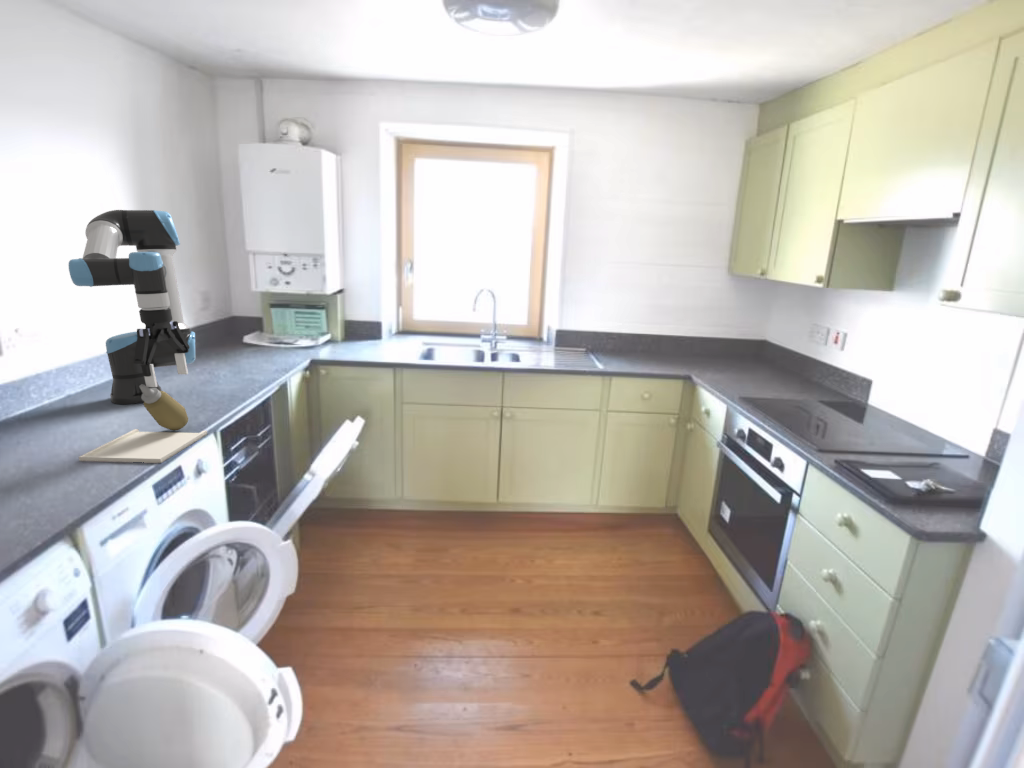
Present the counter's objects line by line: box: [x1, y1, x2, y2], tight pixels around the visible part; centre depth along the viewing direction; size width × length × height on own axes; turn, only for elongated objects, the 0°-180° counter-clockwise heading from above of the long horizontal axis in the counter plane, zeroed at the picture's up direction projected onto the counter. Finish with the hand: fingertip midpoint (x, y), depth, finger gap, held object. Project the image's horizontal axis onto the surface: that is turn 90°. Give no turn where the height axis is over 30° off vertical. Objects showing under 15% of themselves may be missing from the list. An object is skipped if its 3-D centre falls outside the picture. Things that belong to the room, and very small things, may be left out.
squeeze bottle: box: [139, 384, 189, 431], centre depth 152 cm, size 8×8×18 cm
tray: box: [78, 428, 208, 464], centre depth 145 cm, size 20×22×1 cm
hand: (168, 380), depth 153 cm, fingers open, 13 cm apart
